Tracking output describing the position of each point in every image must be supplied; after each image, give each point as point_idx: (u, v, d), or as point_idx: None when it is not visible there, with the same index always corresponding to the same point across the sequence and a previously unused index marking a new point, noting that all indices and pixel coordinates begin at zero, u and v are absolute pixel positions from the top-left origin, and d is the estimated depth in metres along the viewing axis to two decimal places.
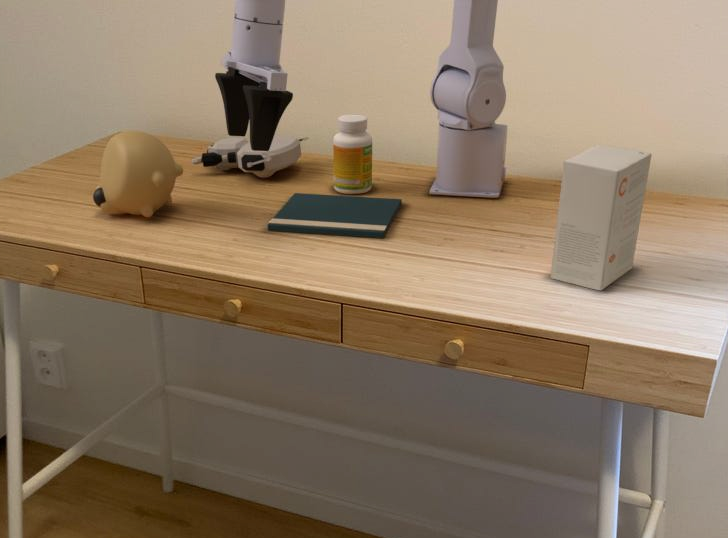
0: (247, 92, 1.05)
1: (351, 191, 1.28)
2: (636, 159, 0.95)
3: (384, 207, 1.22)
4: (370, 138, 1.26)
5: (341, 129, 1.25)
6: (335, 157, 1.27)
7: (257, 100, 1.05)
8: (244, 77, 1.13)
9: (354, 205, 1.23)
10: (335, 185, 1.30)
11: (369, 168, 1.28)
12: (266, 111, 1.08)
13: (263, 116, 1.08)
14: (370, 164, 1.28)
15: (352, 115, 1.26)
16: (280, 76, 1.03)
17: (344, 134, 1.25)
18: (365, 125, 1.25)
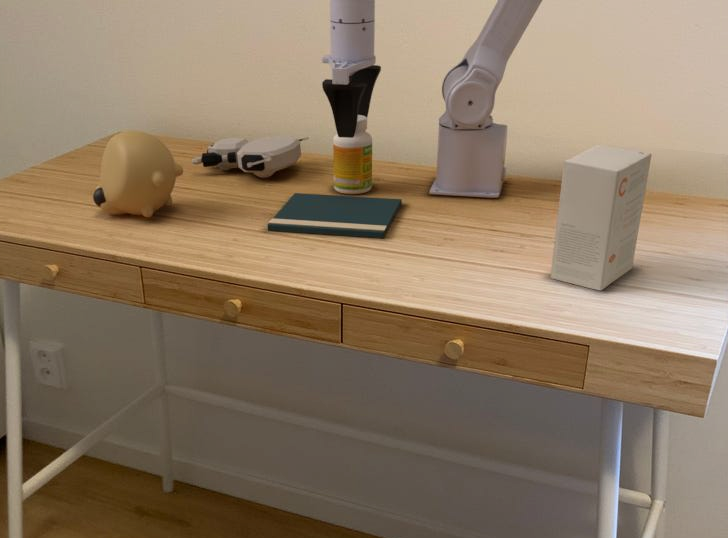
0: None
1: (351, 191, 1.28)
2: (636, 159, 0.95)
3: (384, 207, 1.22)
4: (370, 138, 1.26)
5: None
6: (335, 157, 1.27)
7: (329, 92, 1.19)
8: (361, 70, 1.25)
9: (354, 205, 1.23)
10: (335, 185, 1.30)
11: (369, 168, 1.28)
12: (346, 102, 1.20)
13: (343, 106, 1.21)
14: (370, 164, 1.28)
15: None
16: (340, 71, 1.16)
17: None
18: (365, 125, 1.25)
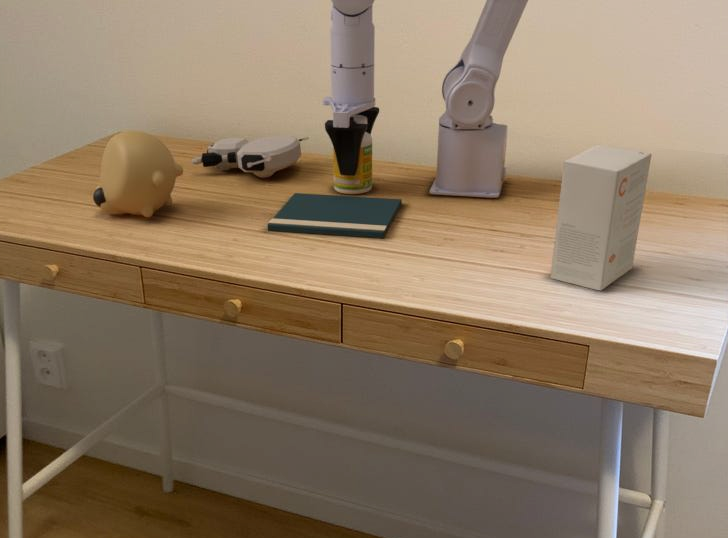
0: None
1: (351, 191, 1.28)
2: (636, 159, 0.95)
3: (384, 207, 1.22)
4: (370, 138, 1.26)
5: None
6: (335, 157, 1.27)
7: (331, 133, 1.22)
8: (359, 112, 1.28)
9: (354, 205, 1.23)
10: (335, 185, 1.30)
11: (369, 168, 1.28)
12: (348, 142, 1.24)
13: (345, 146, 1.24)
14: (370, 164, 1.28)
15: None
16: (341, 115, 1.18)
17: None
18: None
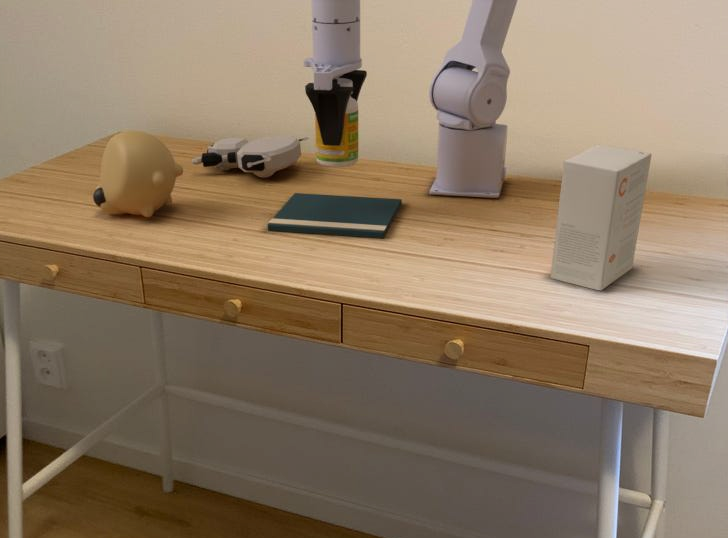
0: None
1: (335, 163, 1.16)
2: (636, 159, 0.95)
3: (384, 207, 1.22)
4: (355, 104, 1.13)
5: None
6: (317, 125, 1.15)
7: (312, 97, 1.10)
8: (345, 75, 1.15)
9: (354, 205, 1.23)
10: (317, 157, 1.17)
11: (355, 138, 1.15)
12: (331, 107, 1.11)
13: (328, 112, 1.12)
14: (356, 133, 1.15)
15: None
16: (323, 76, 1.06)
17: None
18: None
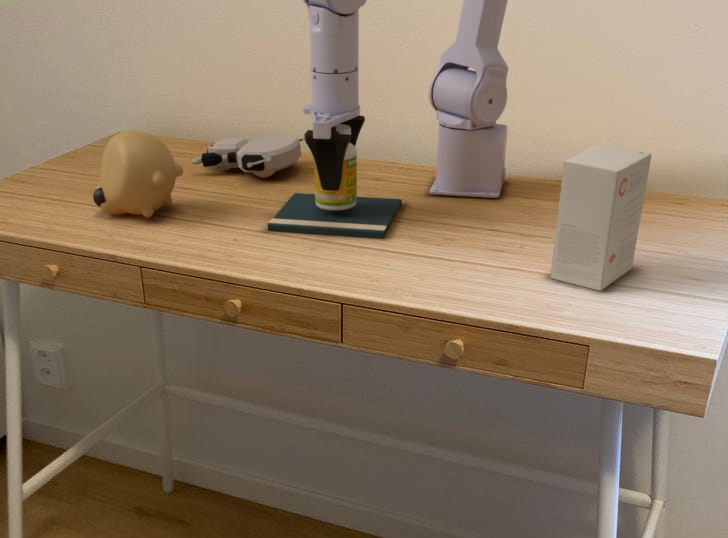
0: None
1: (334, 207, 1.18)
2: (636, 159, 0.95)
3: (384, 207, 1.22)
4: (354, 149, 1.15)
5: None
6: (316, 170, 1.17)
7: (311, 144, 1.12)
8: None
9: None
10: (316, 201, 1.19)
11: (353, 182, 1.17)
12: (330, 154, 1.13)
13: (327, 158, 1.14)
14: (354, 178, 1.17)
15: None
16: (322, 125, 1.08)
17: None
18: None
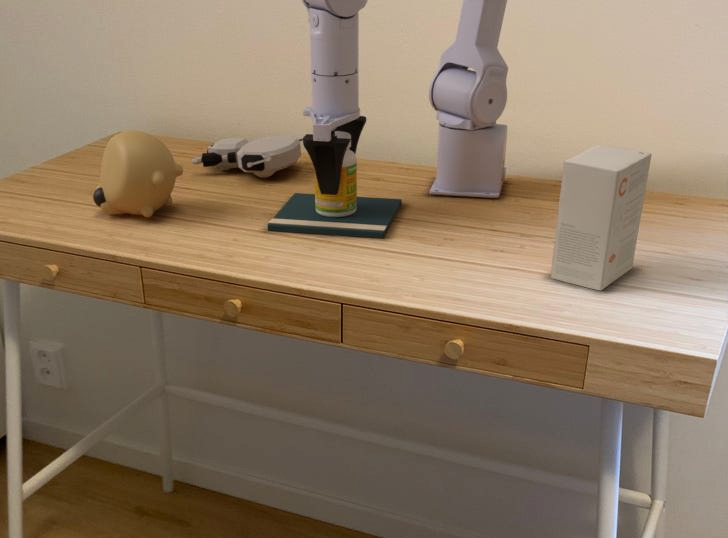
0: None
1: (334, 214, 1.18)
2: (636, 159, 0.95)
3: (384, 207, 1.22)
4: (354, 157, 1.16)
5: None
6: (316, 177, 1.17)
7: (310, 149, 1.11)
8: None
9: None
10: (317, 207, 1.19)
11: (353, 190, 1.18)
12: (328, 158, 1.13)
13: (326, 162, 1.13)
14: (354, 185, 1.18)
15: (335, 132, 1.16)
16: (322, 128, 1.08)
17: None
18: None
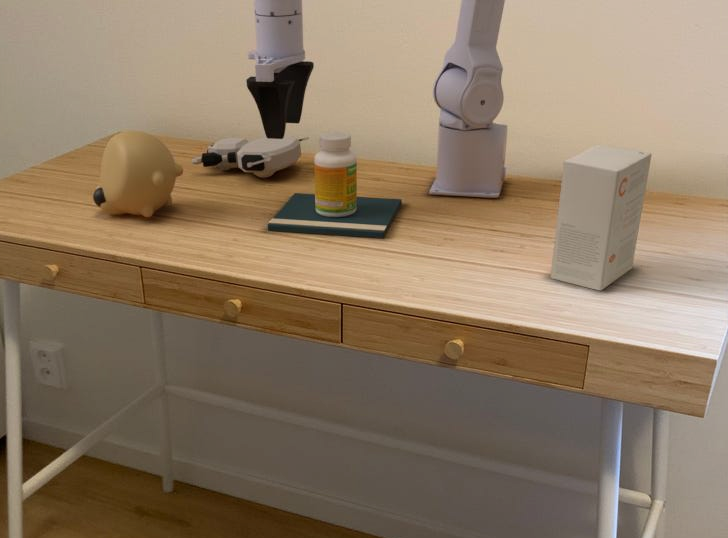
0: None
1: (334, 214, 1.18)
2: (636, 159, 0.95)
3: (384, 207, 1.22)
4: (354, 157, 1.16)
5: (323, 147, 1.15)
6: (316, 177, 1.17)
7: (254, 90, 1.11)
8: (292, 66, 1.17)
9: None
10: (317, 207, 1.19)
11: (353, 190, 1.18)
12: (273, 101, 1.12)
13: (270, 105, 1.13)
14: (354, 185, 1.18)
15: (335, 132, 1.16)
16: (264, 67, 1.07)
17: (326, 153, 1.15)
18: (348, 143, 1.15)
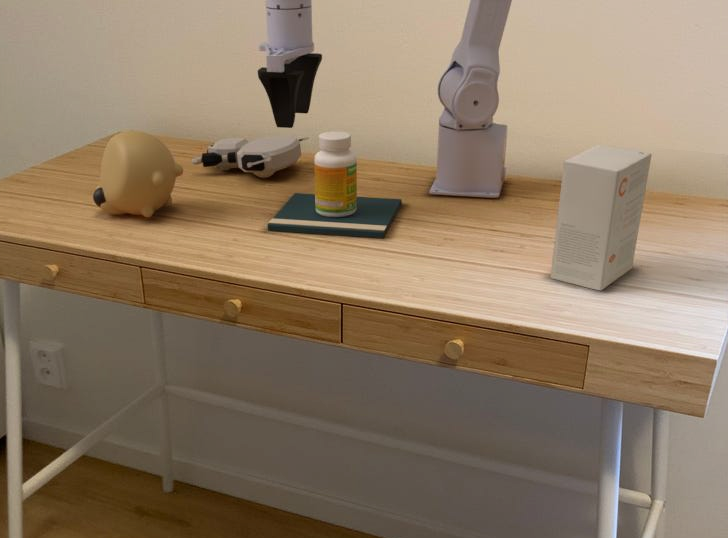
0: None
1: (334, 214, 1.18)
2: (636, 159, 0.95)
3: (384, 207, 1.22)
4: (354, 157, 1.16)
5: (323, 147, 1.15)
6: (316, 177, 1.17)
7: (265, 81, 1.15)
8: (301, 58, 1.22)
9: None
10: (317, 207, 1.19)
11: (353, 190, 1.18)
12: (283, 91, 1.17)
13: (281, 95, 1.17)
14: (354, 185, 1.18)
15: (335, 132, 1.16)
16: (275, 58, 1.12)
17: (326, 153, 1.15)
18: (348, 143, 1.15)
